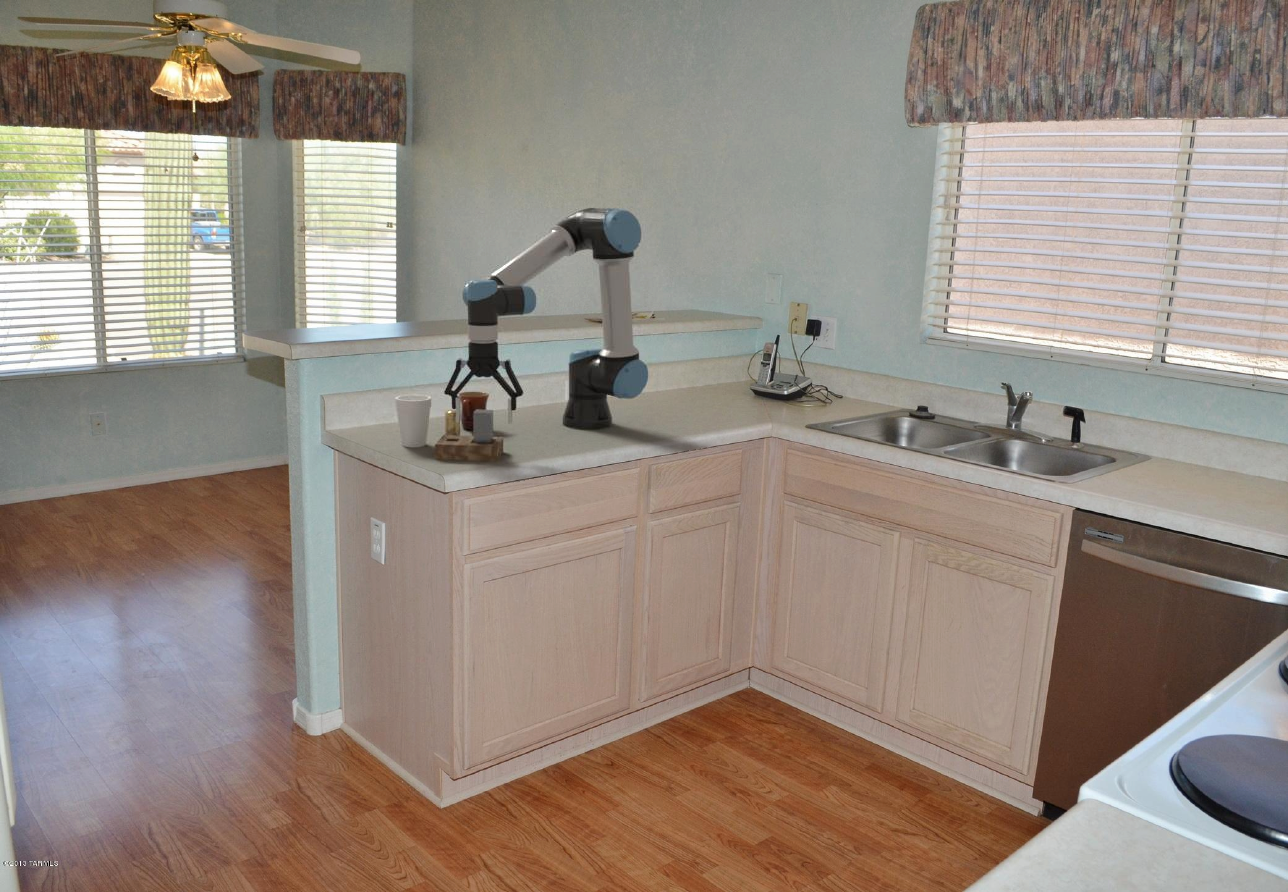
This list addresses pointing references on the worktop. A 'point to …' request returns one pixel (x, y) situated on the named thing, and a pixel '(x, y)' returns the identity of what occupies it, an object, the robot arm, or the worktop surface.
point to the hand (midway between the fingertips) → (484, 422)
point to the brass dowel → (451, 423)
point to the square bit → (483, 426)
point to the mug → (471, 406)
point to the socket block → (467, 449)
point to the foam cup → (413, 419)
